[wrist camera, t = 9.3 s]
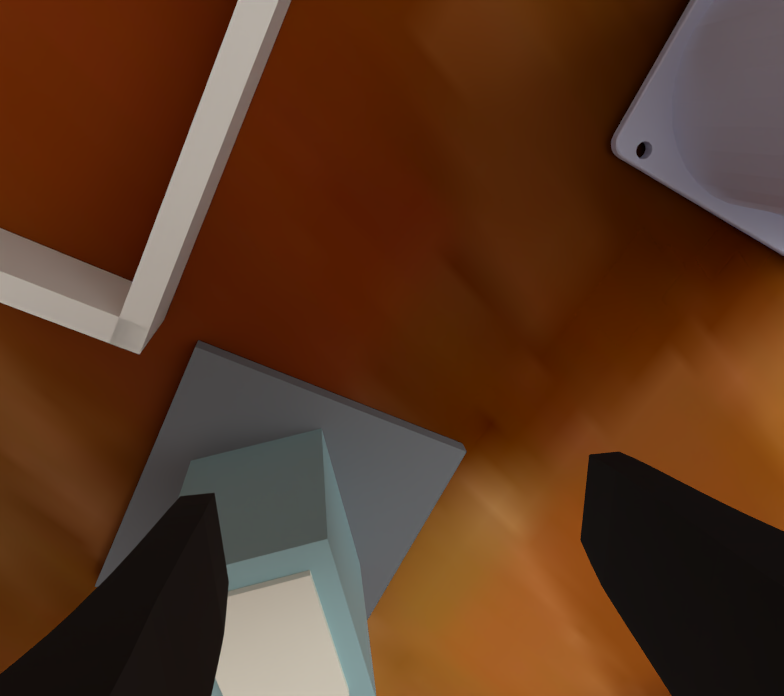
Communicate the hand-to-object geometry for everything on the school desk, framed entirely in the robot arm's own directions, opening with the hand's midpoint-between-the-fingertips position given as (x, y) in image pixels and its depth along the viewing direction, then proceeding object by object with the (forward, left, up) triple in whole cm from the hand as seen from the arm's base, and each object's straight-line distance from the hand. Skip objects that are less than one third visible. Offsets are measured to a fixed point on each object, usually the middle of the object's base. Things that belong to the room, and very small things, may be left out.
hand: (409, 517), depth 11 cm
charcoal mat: (0, +7, -9) cm, 12 cm away
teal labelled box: (0, +7, -9) cm, 11 cm away
